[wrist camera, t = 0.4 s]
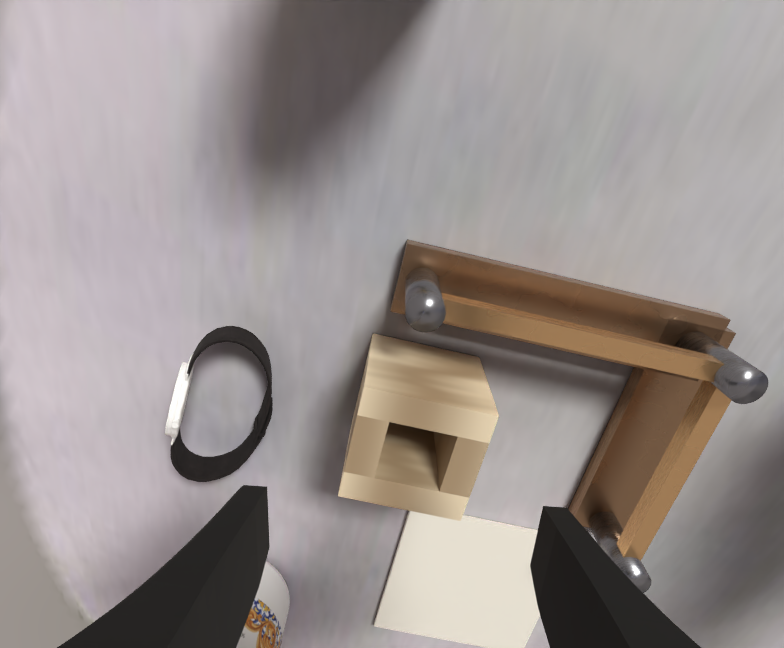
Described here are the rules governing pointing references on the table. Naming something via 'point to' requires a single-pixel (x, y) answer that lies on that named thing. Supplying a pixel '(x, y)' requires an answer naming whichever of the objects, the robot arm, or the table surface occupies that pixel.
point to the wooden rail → (611, 343)
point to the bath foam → (267, 612)
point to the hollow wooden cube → (418, 429)
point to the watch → (180, 455)
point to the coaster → (462, 582)
